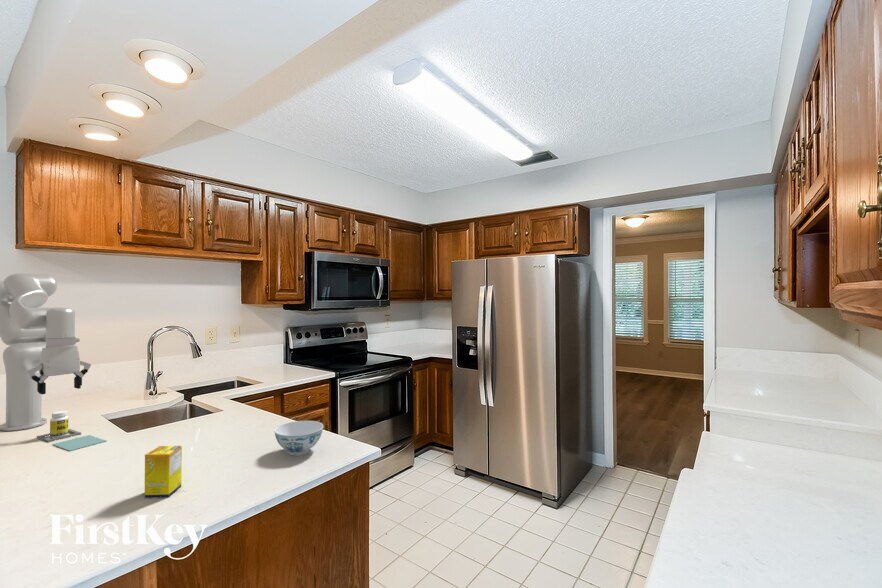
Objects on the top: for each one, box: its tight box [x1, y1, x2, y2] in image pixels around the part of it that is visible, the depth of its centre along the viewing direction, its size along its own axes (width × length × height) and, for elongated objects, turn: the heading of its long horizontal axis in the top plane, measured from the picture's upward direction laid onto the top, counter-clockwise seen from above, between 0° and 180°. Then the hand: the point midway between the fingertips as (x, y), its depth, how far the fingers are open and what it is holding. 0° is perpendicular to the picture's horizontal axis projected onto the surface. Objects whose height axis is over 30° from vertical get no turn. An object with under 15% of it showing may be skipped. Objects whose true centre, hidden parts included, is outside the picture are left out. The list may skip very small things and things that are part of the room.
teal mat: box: [52, 434, 107, 452], centre depth 137 cm, size 12×10×1 cm
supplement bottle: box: [49, 410, 70, 439], centre depth 143 cm, size 5×5×8 cm
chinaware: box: [274, 420, 324, 456], centre depth 131 cm, size 15×15×8 cm
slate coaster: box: [36, 428, 82, 443], centre depth 143 cm, size 9×9×1 cm
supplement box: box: [144, 445, 183, 499], centre depth 103 cm, size 6×6×11 cm
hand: (60, 390), depth 143 cm, fingers open, 9 cm apart
